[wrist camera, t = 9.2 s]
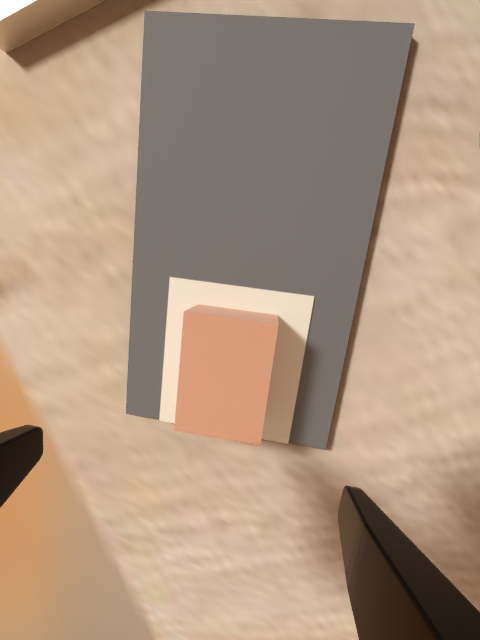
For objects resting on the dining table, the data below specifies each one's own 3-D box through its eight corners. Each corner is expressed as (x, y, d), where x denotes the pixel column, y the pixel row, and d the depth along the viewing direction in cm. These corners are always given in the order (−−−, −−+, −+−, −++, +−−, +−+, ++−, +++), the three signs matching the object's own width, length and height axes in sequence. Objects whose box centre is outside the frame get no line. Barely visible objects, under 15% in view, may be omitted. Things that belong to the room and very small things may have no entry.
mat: (409, 33, 14) (415, 21, 14) (323, 444, 19) (325, 450, 18) (149, 20, 16) (143, 9, 15) (130, 409, 20) (125, 414, 20)
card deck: (262, 417, 19) (260, 445, 16) (189, 405, 19) (174, 430, 16) (277, 314, 17) (278, 324, 14) (198, 304, 18) (183, 311, 15)
